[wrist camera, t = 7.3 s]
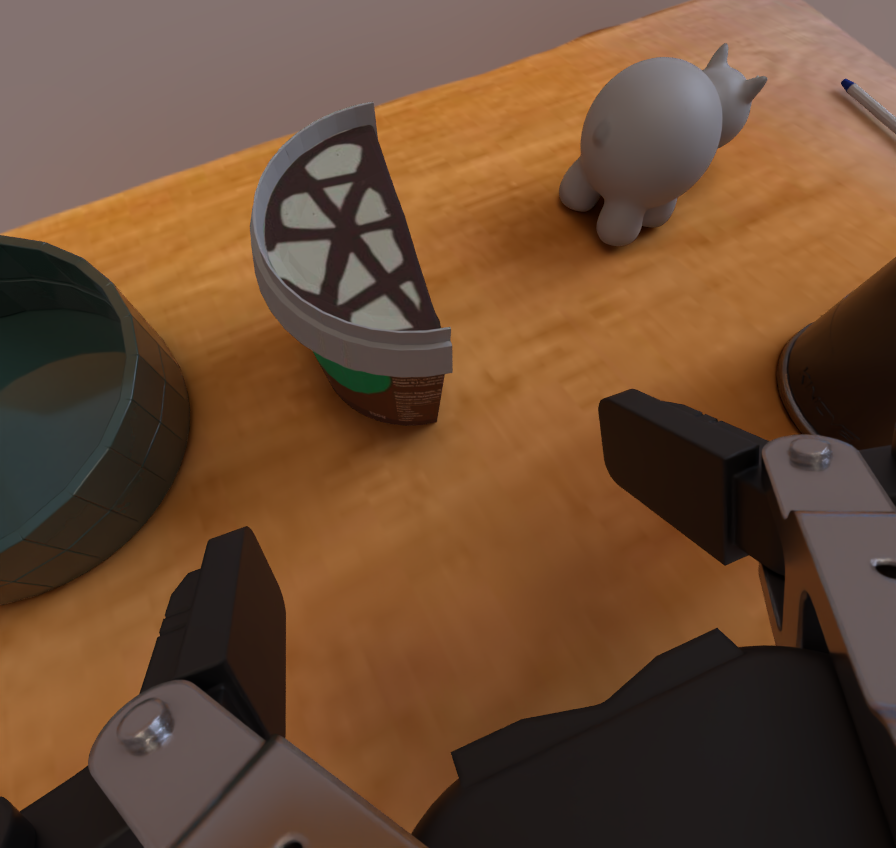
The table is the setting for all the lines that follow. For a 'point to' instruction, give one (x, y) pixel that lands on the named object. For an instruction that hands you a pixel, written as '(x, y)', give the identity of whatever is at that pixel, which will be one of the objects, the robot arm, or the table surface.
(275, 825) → the robot arm
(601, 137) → the round bodied animal figurine
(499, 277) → the table surface
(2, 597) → the bowl
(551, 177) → the table surface
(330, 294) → the food container
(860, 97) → the ballpoint pen
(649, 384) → the table surface
